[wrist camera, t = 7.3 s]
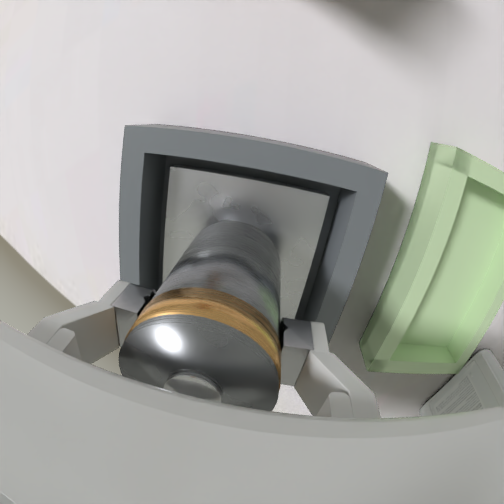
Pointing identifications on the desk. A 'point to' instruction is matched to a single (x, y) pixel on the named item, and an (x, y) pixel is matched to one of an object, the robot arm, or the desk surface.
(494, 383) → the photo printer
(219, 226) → the grey cell
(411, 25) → the desk surface
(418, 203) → the green trough
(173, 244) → the pan
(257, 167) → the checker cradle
